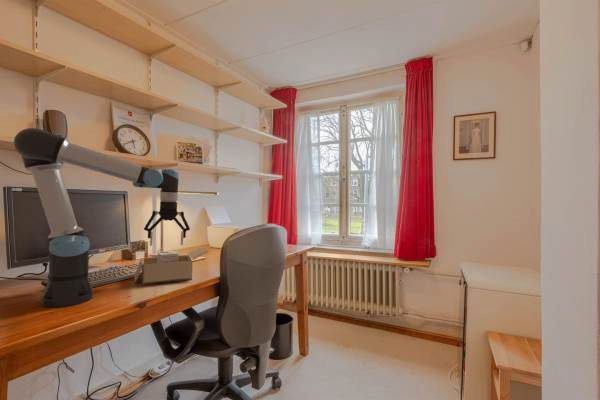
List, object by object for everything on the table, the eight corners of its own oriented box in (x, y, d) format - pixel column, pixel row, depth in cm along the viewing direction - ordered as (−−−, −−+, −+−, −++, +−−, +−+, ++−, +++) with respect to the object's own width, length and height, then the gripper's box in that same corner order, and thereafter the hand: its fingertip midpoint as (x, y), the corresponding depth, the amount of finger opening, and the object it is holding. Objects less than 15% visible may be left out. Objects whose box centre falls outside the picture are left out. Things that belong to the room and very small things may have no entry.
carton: (134, 287, 125) (134, 266, 125) (134, 275, 144) (135, 257, 144) (193, 281, 137) (193, 261, 137) (186, 271, 156) (186, 253, 156)
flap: (192, 258, 141) (208, 250, 144) (188, 253, 153) (202, 246, 156) (193, 259, 141) (208, 251, 144) (188, 254, 153) (203, 247, 156)
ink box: (159, 280, 136) (160, 254, 136) (156, 277, 140) (156, 253, 140) (178, 277, 142) (178, 252, 142) (174, 275, 146) (175, 251, 146)
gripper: (139, 200, 132) (137, 246, 131) (197, 202, 144) (195, 245, 144) (139, 200, 138) (137, 244, 138) (194, 202, 150) (192, 243, 150)
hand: (166, 245), depth 141 cm, fingers open, 13 cm apart
